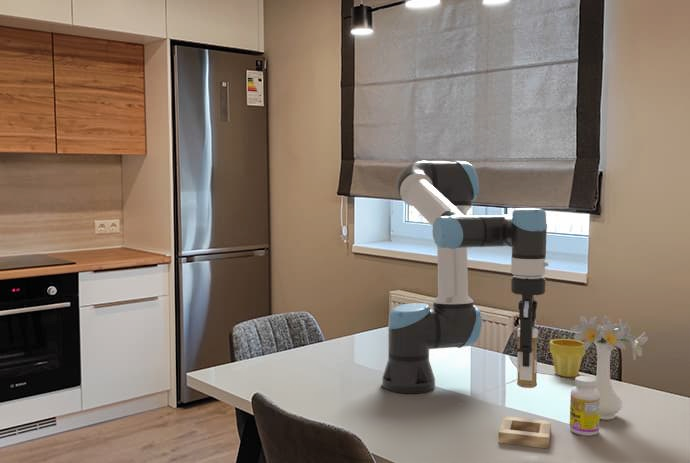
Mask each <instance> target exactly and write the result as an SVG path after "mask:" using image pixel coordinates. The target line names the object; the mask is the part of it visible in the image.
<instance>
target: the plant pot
mask: <svg viewBox="0 0 690 463" xmlns="http://www.w3.org/2000/svg"><path fill="white" fill-rule="evenodd" d="M583 343H584V342H583V341H576V340H574V339H569V338H556V339H551V340H550V341H549V352H550V353H551V355H552V356H551V357H552V361H553V366H554V373H555V375H558V376H560V377H566V378H576V377H578V376H579V372H580V368H581V364H582V360H583V357H584V356H585V355H586V350H585V349H584V348H583Z"/></svg>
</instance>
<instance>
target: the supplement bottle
mask: <svg viewBox="0 0 690 463" xmlns="http://www.w3.org/2000/svg"><path fill="white" fill-rule="evenodd" d="M574 378H575V379H574V382H575V386H574V387H573V388H572V389H571V390H570V403H569V404H570V405H569V408H570V409H569V430H570V431H571V432H573V434H576V435H580V436H585V437H586V436H587V437H588V436H589V437H591V436H595V435H598V433H599V432H600V419H599V417H600V393H599V391H598V390H597V389H595V386H596V377H593V376H589V375H577V376H575V377H574Z"/></svg>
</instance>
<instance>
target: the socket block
mask: <svg viewBox="0 0 690 463" xmlns="http://www.w3.org/2000/svg"><path fill="white" fill-rule="evenodd" d="M502 417H503V418H502V420H501V424H500V427H499V430H498V443H499V444H506V445H517V446H525V447H533V448H540V449H541V448H543V449H549V448H550V439H551V433H552V421H551V420H545V419H544V420H542V419H536V418H535V419H533V418H525V417H524V418H523V417H516V416H515V417H514V416H507V415H506V416H505V415H504V416H502Z"/></svg>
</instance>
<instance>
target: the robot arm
mask: <svg viewBox="0 0 690 463" xmlns="http://www.w3.org/2000/svg"><path fill="white" fill-rule="evenodd" d="M396 191H397V194H398V197H399V198H400V199H401V200H402V201H403V202H404V203H405V204H406V205H408V206H411V207H413V208H414V209H416V210H417V211H418V213H419V214H420V215H421V216H422V217H423V218H424V219H425V220H426V221H427V222H428V223H429V224H430V225H431V226H432V238H433V240H434V243H435V245H436V248H437V252H436V253H437V293H438V294H437V296H436V298H435V299H433V302H432V303H433V305H432V307H430V306H429V304H428V303H423V302H416V303H415V302H413V303H404V304H400V305H397V306H395V307H393V308H391V310H390V311H389V313H388V323H387V327H388V340H387V342H388V354H387V355H388V358H387V363H386V366H385V369H384V371H383V374H382V380H381V381H382V382H381V386H382V387H383V388H384V389H385V390H388V391H389V392H390V391H391V392H395V393H399V394H421V393H427V392H430V391H432V390H434V389H435V388H436V378H435V376H434V371H433V368H432V366H431V362H430V350H434V349H435V350H436V349H449V348H458V349H462V348H465V347H470V346H473V345H475V343H476V342H477V341H478V340H479V338H480V337H481V336H480V335H481V332H482V327H483V324H482V323H483V322H482V321H483V320H482V315H481V310H480V309H479V308H478V307H477V306H475V305H474V300H473V299H472V298H471V297H470V296H469V281H468V280H469V278H468V276H469V275H468V271H469V270H468V248H493V247H494V248H497V247H505V248H507V247H508V248H509V247H510V248H511V262H510V263H511V267H510V268H511V270H510V272H511V274H512V275H513V276H512V277H511V279H510V280H511V284H510V285H511V286H510V288H511V289H510V290H511V293H512V294H515V295H520V296H521V299H519V301H518V307H517V308H518V310H519V312H518V313H519V315H518V319H519V320H518V321H519V323H520V324H519V327H520V347H519V349H518V348H516V352H517V353H518V352H520V380H530V381H532V362H533V352H532V328H536V327H535V325H536V324H535V322H536V318H537V309H538V301H537V300H536V299H535V296H541V295H544V294H545V293H546V278H545V277H544V276H545V275H546V267H549V263H548V261H546V258H547V257H546V254H547V234H548V233H547V229H548V224H547V212H546V211H545V209H543V208H531V207H530V208H529V207H528V208H527V207H526V208H525V207H524V208H515V209H513V210H512V214H511V215H510V214H507V213H505V214H503V213H501V214H495V215H467V213H468V211H469V210H470V209H471V208H472V202H473V201H476V200H477V198H478V196H479V191H480V181H479V176H478V173H477V170H476V168H474V165H472V164H471V163H469V162H468V161H463V160H462V161H461V160H419V161H416V162H412V163H410V164H408V165H407V166H406V167H404V169H402V170H401V171H400V172H399V175H398V177H397V180H396Z"/></svg>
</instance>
